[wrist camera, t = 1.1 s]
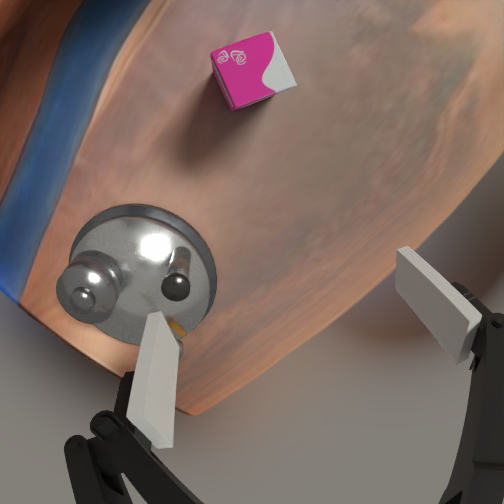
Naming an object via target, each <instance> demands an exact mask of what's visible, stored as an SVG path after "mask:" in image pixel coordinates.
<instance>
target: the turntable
mask: <svg viewBox="0 0 504 504" xmlns="http://www.w3.org/2000/svg"><path fill="white" fill-rule="evenodd" d="M86 250H96V251H100V252H102V253H105V254H106V255H108V256H109V257H111V258H112V259H113V260H114V261H115V262H116V263H117V265H118V266H119V268H120V269H121V272H122V275H123V280H124V281H123V288H122V291H121V293H120V296H119V298H118V300H117V303H116V305H115V308H114V310H113V312H112V314H111V316H110V317H109V318H108V319H107V320H106V321H104V322H101V323H97V324H94V325H95V326H96V327H97V328H99V329H100V330H101V331H103V332H104V333H106V334H107V335H109V336H111V337H113V338H115V339H118V340H120V341H123V342H126V343H130V344H135V345H141V342H142V338H143V333H144V329H145V325H146V321H147V317H148V314H150V313H155V312H159V311H161V312H162V314H163V316H164V318H165V320H166V322H167V324H168V326H169V328H170V330H171V332H172V334H173V336H174V338H175V340H179V339H181V338H182V337H184V336H186V335H187V334H189V333H190V332H191V331H192V330H193V329H194V328H195V327H197V325H198V324H199V323H200V321H201V320H202V318H203V316H204V315H205V312H206V310H207V307H208V302H209V291H210V281H209V273H208V270H207V266H206V263H205V261H204V259H203V256H202V255H201V253H200V251H199V250H198V248H197V247H196V246H195V245H194V243H193V242H192V241H191V240H190V239H189V238H188V237H187V236H186V235H185V234H184V233H182V232H181V231H180V230H178V229H177V228H176V227H174V226H172V225H170V224H169V223H167V222H164V221H162V220H160V219H157V218H153V217H150V216H145V215H135V214H128V215H119V216H116V217H112V218H109V219H107V220H104V221H102V222H101V223H99V224H97V225H96V226H94V227H93V228H92V229H91V230H90V231H89V232H88V233H87V234H86V235H85V236H84V237H83V239H82V240H81V241H80V242H79V243H78V245H77V247H76V248H75V250H74V252H73V255H72V258H71V261H72V260H73V259H74V258H75V256H76V255H78V254H79V253H81V252H83V251H86ZM70 263H71V262H70Z"/></svg>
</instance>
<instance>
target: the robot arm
mask: <svg viewBox="0 0 504 504" xmlns="http://www.w3.org/2000/svg"><path fill="white" fill-rule="evenodd" d="M395 289H396V291H397V292H398V293H399V294H400V295H401V297H402V298H403V299H404V300H405V301H406V302H407V304H408V305H409V306H410V307H411V308H412V310H413V311H414V312H415V313H416V314H417V316H418V317H419V318H420V319H421V321H422V322H423V323H424V324H425V325H426V327H427V328H428V329H429V331H430V332H431V333H432V334H433V336H434V337H435V338H436V339H437V341H438V342H439V343H440V345H441V346H442V347H443V348H444V350H445V351H446V352H447V354H448V355H449V356H450V358H451V359H452V360H453V362H454V363H455V364H456V365H457V364H459V363H461V362H463V361H464V360H466V359H468V357H469V354H470V351H471V350H472V352H473V353H474V354H475V356H474V358H473V361H472V363H471V366H470V369H469V370H471V369H472V377H471V385H470V392H469V399H468V406H467V412H466V417H465V422H464V427H463V432H462V437H461V441H460V445H459V449H458V453H457V457H456V460H455V464H454V468H453V471H452V474H451V478H450V481H449V484H448V486H447V488H446V490H445V491H444V493H443V495H442V497H441V500H440V502H439V504H502V502H503V498H504V314H501V313H492V312H491V311H490V310H489V309H488V308H487V307H485V306H484V305H483V304H482V303H481V302H480V301H479V300H478V299H477V298H475V296H474V295H473V294H472V293H470V291H469V290H468V289H467V288H465V287H464V286H463V285H461V284H459V283H457V282H454V283H452V284H450V283H449V282H448V281H447V280H446V279H444V278H443V277H442V276H441V275H440V274H439V273H438V272H437V271H436V270H435V269H433V268H432V267H431V266H430V265H429V264H428V263H427V262H426V261H425V260H423V259H422V258H421V257H420V256H419V255H418V254H417V253H415V252H414V251H413V250H412V249H411V248H410V247H408V246H406V247H402V248H399V249H397V255H396V288H395ZM178 358H179V346H178V344H177V342H176V340H175V338H174V336H173V334H172V332H171V330H170V328H169V326H168V324H167V322H166V320H165V318H164V316H163V314H162V312H161V311H159V312H155V313H150V314H148V317H147V321H146V325H145V329H144V333H143V338H142V342H141V346H140V351H139V355H138V360H137V364H136V369H135V371H131V372H126V373H125V375H124V376H123V378H122V379H121V381H120V386H119V391H118V394H117V399H116V403H115V408H114V413H113V412H112V411H108V410H106V411H101V412H99V413H97V414H96V415H95V416H94V417H93V418H92V420H91V422H90V430H91V432H92V433H93V434H94V435H95V436H96V437H94V438H91V439H88V440H86V439H85V438H84V437H83V436H81V435H74V436H72V437H70V438H69V439H68V440H67V441H66V443H65V446H64V453H65V458H66V463H67V468H68V472H69V477H70V481H71V485H72V489H73V493H74V497H75V500H76V504H133V503H132V500H131V498H130V496H129V493H128V491H127V488H126V486H125V484H124V481H123V479H122V476H121V473H124V474H125V475H126V477H127V478H128V479H129V481H130V482H131V483H132V485H133V486H134V487H135V489H136V490H137V491H138V492H139V494H140V495H141V496H142V497H143V498H144V500H145V501H146V502H147V503H148V504H204V503H203V502H201V501H200V500H199V499H198V498H197V497H196V496H195V495H194V494H193V493H192V492H191V491H190V490H189V489H188V488H187V487H186V486H185V485H184V484H182V482H181V481H180V480H178V479H177V477H176V476H175V475H174V474H173V473H172V472H171V471H170V470H169V469H168V468H167V467H166V466H165V465H164V464H163V463H162V462H161V461H160V460H159V458H158V457H157V456H156V455H155V454H154V453H153V452H152V451H151V443H152V444H153V445H154V446H155V447H156V448H157V449H158V448H172V447H173V432H174V413H175V397H176V382H177V370H178Z"/></svg>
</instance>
